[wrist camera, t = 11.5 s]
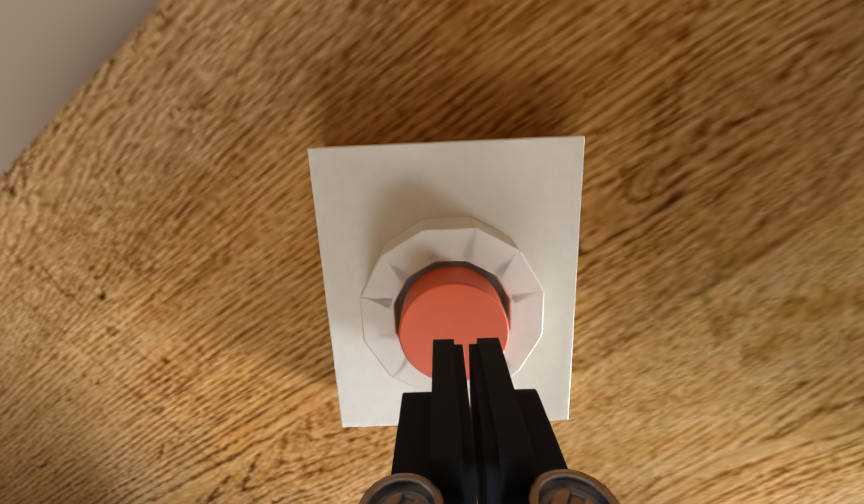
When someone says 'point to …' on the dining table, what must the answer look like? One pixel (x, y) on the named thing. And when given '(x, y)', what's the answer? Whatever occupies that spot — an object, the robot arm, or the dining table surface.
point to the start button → (449, 314)
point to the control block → (447, 255)
